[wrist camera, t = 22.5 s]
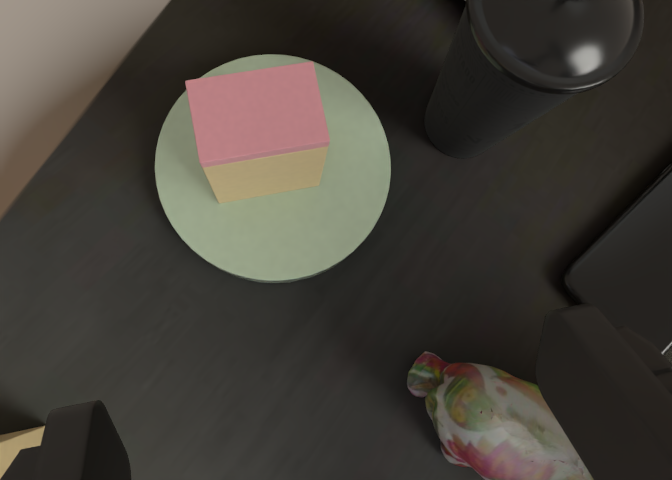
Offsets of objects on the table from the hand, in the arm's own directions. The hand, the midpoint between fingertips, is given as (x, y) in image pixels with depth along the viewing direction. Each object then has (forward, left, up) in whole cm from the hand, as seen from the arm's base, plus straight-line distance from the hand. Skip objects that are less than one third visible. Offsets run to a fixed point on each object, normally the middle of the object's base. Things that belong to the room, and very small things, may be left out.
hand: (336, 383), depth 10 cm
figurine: (-6, +11, -24) cm, 27 cm away
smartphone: (-23, +11, -24) cm, 35 cm away
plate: (-6, -9, -24) cm, 27 cm away
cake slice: (-6, -10, -23) cm, 25 cm away
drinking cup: (-17, -4, -24) cm, 30 cm away
